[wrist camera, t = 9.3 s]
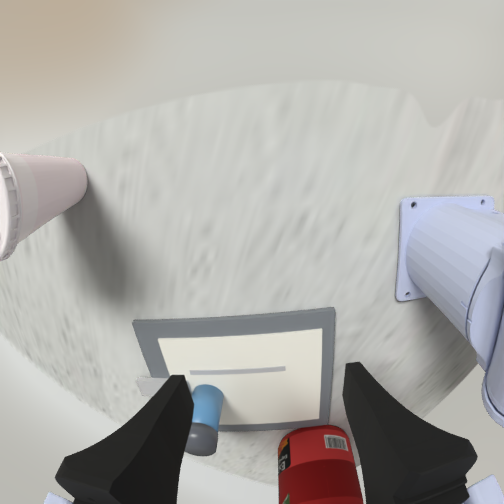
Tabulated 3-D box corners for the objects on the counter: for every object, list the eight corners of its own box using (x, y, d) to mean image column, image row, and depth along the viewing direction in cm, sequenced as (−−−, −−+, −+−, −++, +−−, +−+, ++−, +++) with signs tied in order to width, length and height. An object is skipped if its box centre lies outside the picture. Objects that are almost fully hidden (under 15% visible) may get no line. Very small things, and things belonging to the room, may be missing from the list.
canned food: (270, 430, 27) (270, 521, 17) (346, 415, 26) (367, 504, 16) (284, 462, 30) (287, 538, 19) (349, 449, 29) (365, 524, 18)
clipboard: (333, 306, 22) (336, 314, 21) (327, 420, 26) (328, 428, 25) (119, 320, 23) (113, 326, 22) (163, 425, 28) (160, 432, 27)
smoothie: (97, 131, 18) (-69, 140, 5) (108, 216, 20) (-37, 304, 7) (36, 151, 18) (-105, 181, 5) (48, 226, 21) (-80, 299, 7)
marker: (220, 383, 24) (211, 436, 18) (227, 405, 25) (219, 456, 19) (188, 383, 24) (172, 434, 19) (196, 405, 25) (184, 455, 20)
